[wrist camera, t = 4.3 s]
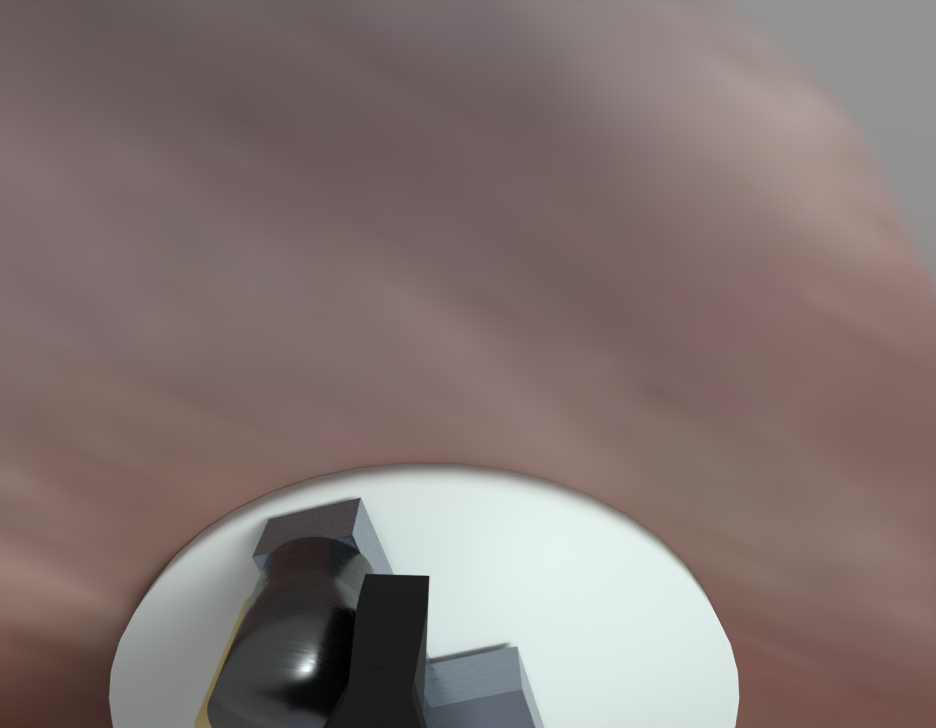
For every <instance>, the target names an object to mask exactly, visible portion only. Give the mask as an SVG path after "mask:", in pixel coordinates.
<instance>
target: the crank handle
mask: <svg viewBox="0 0 936 728" xmlns="http://www.w3.org/2000/svg"><path fill="white" fill-rule="evenodd" d="M252 558H253V560H254V562H255V564H256V566H257V567H258V569H259V571H260V576H259V578H258V581H257V583H256V586H255V588H254V591H253V593H252V596H251V598H250V600H249V603H248V605H247V608H246V610H245V613H244V615H243V618H242V620H241V623H240V625H239V627H238V630H237V632H236V635H235V637H234V640H233V642H232V645H231V647H230V650H229V652H228V654H227V657H226V659H225V662H224V664H223V667H222V669H221V672H220V674H219V677H218V679H217V681H216V684H215V686H214V689H213V691H212V694H211V696H210V699H209V701H208V706H207V715H208V720H209V723H210V725H211V727H212V728H323V727H324V725H325V723H326V722H327V720H328V718H329V716H330V715H331V713H332V711H333V709H334V707H335V706H336V704H337V702H338V700H339V699H340V697H341V695H342V693H343V691H344V690H345V688H346V686H347V684H348V682H349V677H350V667H351V657H352V646H353V636H354V627H355V617H356V607H357V602H358V599H359V595H360V591H361V587H362V584H363V580H364V576H365V574H393V571H392V569H391V567H390V564H389V562H388V560H387V557H386V555H385V553H384V550H383V548H382V546H381V543H380V541H379V539H378V536H377V534H376V532H375V529H374V527H373V525H372V522H371V520H370V518H369V515H368V513H367V511H366V508H365V506H364V504H363V501H362V499H361V498H356V499H352V500H348V501H344V502H339V503H335V504H331V505H327V506H322V507H318V508H314V509H310V510H306V511H301V512H297V513H293V514H289V515H284V516H280V517H276V518H272V519H269V520H268V522H267V524H266V527H265V529H264V531H263V533H262V536H261V538H260V540H259V542H258V545H257V547H256V549H255V552H254V554H253V556H252ZM393 575H394V574H393ZM423 715H424V719H425V722H426V726H427V728H544V725H543V722H542V719H541V716H540V713H539V710H538V707H537V704H536V701H535V698H534V695H533V692H532V689H531V686H530V683H529V680H528V677H527V674H526V671H525V668H524V665H523V662H522V659H521V656H520V653H519V650H518V647H517V646H516V647H511V648H506V649H501V650H497V651H492V652H487V653H482V654H477V655H472V656H468V657H463V658H458V659H453V660H448V661H443V662H439V663H434V664H432V662H431V660H430V658H429V655H428V653H427V651H426V670H425V689H424V708H423Z"/></svg>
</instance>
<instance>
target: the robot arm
mask: <svg viewBox="0 0 936 728" xmlns="http://www.w3.org/2000/svg"><path fill="white" fill-rule="evenodd" d="M429 578H430V576H426V575H393V574H365V576H364V580H363V584H362V587H361V591H360V595H359V599H358V602H357V607H356V617H355V627H354V636H353V646H352V657H351V667H350V677H349V682H348V684H347V686H346V688H345V690H344V691H343V693H342V695H341V697H340V699H339V700H338V702H337V704H336V706H335V707H334V709H333V711H332V713H331V715H330V716H329V718H328V720H327V722H326V723H325V725H324V727H323V728H427V726H426V722H425V719H424V715H423V708H424V689H425V670H426V650H427V626H428V602H429Z"/></svg>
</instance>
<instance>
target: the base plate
mask: <svg viewBox="0 0 936 728" xmlns="http://www.w3.org/2000/svg"><path fill="white" fill-rule="evenodd" d="M356 498H361V499H362V501H363V504H364V506H365V508H366V511H367V513H368V515H369V518H370V520H371V522H372V525H373V527H374V529H375V532H376V534H377V536H378V539H379V541H380V543H381V546H382V548H383V550H384V553H385V555H386V557H387V560H388V562H389V564H390V567H391V569H392V571H393V574H394V575H426V576H430V578H429V602H428V626H427V650H426V651H427V653H428V655H429V658H430V660H431V662H432V664H434V663H439V662H443V661H448V660H453V659H458V658H463V657H468V656H472V655H477V654H482V653H487V652H492V651H497V650H501V649H506V648H511V647H516V646H517V647H518V650H519V653H520V656H521V659H522V662H523V665H524V668H525V671H526V674H527V677H528V680H529V683H530V686H531V689H532V692H533V695H534V698H535V701H536V704H537V707H538V710H539V713H540V716H541V719H542V722H543V725H544V728H735V724H736V717H737V710H738V704H739V688H738V672H737V668H736V664H735V660H734V656H733V652H732V649H731V645H730V643H729V641H728V638H727V636H726V634H725V632H724V630H723V628H722V626H721V624H720V622H719V620H718V618H717V616H716V614H715V612H714V610H713V608H712V606H711V604H710V602H709V600H708V598H707V596H706V594H705V592H704V590H703V588H702V587H701V585H700V584H699V583H698V581H697V580H696V579H695V577H694V576H693V574H692V573H691V572H690V570H689V569H688V568H687V566H686V565H685V564H684V562H683V561H682V560H681V559H680V558H679V557H678V556H677V555H676V554H675V553H674V552H673V551H672V550H671V549H670V548H669V547H668V546H667V545H665V544H664V543H663V542H662V541H661V540H660V539H659V538H658V537H657V536H656V535H654V534H653V533H651V532H650V531H649V530H647V529H646V528H644V527H643V526H642V525H640V524H639V523H637V522H636V521H635V520H633V519H632V518H630V517H629V516H628V515H626V514H624V513H622V512H620V511H619V510H617V509H615V508H613V507H611V506H609V505H607V504H605V503H603V502H601V501H599V500H598V499H596V498H594V497H592V496H590V495H587V494H584V493H582V492H579V491H576V490H574V489H571V488H568V487H566V486H563V485H560V484H557V483H555V482H552V481H549V480H545V479H541V478H537V477H533V476H529V475H525V474H521V473H517V472H512V471H508V470H504V469H496V468H488V467H480V466H472V465H464V464H450V463H403V464H392V465H381V466H371V467H361V468H356V469H351V470H347V471H342V472H337V473H332V474H327V475H323V476H318V477H314V478H311V479H308V480H305V481H302V482H299V483H296V484H293V485H290V486H287V487H284V488H281V489H278V490H275V491H272V492H270V493H268V494H266V495H264V496H262V497H260V498H258V499H256V500H254V501H252V502H250V503H248V504H245V505H243V506H241V507H239V508H237V509H235V510H233V511H232V512H230V513H229V514H227V515H226V516H224V517H223V518H221V519H220V520H218V521H217V522H215V523H214V524H212V525H211V526H209V527H208V528H206V529H205V530H203V531H202V532H200V533H199V534H198V535H197V536H196V537H195V538H194V539H193V540H192V541H191V542H189V543H188V544H187V545H186V546H185V547H184V548H183V549H182V550H181V551H180V552H178V553H177V554H176V555H175V556H174V557H173V558H172V560H171V561H170V562H169V563H168V565H167V566H166V567H165V569H164V570H163V571H162V572H161V574H160V575H159V576H158V577H157V579H156V580H155V581H154V582H153V584H152V586H151V587H150V589H149V590H148V592H147V594H146V595H145V597H144V598H143V600H142V602H141V603H140V605H139V606H138V608H137V610H136V611H135V613H134V615H133V617H132V619H131V620H130V622H129V624H128V626H127V628H126V630H125V632H124V634H123V636H122V638H121V640H120V641H119V645H118V648H117V652H116V655H115V658H114V662H113V665H112V669H111V678H110V692H109V702H110V710H111V717H112V724H113V728H212V727H211V725H210V723H209V720H208V715H207V706H208V701H209V699H210V696H211V694H212V691H213V689H214V686H215V684H216V681H217V679H218V677H219V674H220V672H221V669H222V667H223V664H224V662H225V659H226V657H227V654H228V652H229V650H230V647H231V645H232V642H233V640H234V637H235V635H236V632H237V630H238V627H239V625H240V623H241V620H242V618H243V615H244V613H245V610H246V608H247V605H248V603H249V600H250V598H251V596H252V593H253V591H254V588H255V586H256V583H257V581H258V578H259V576H260V571H259V569H258V567H257V566H256V564H255V562H254V560H253V558H252V556H253V554H254V552H255V549H256V547H257V545H258V542H259V540H260V538H261V536H262V533H263V531H264V529H265V527H266V524H267V522H268V520H269V519H272V518H276V517H280V516H284V515H289V514H293V513H297V512H301V511H306V510H310V509H314V508H318V507H322V506H327V505H331V504H335V503H339V502H344V501H348V500H352V499H356Z"/></svg>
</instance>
